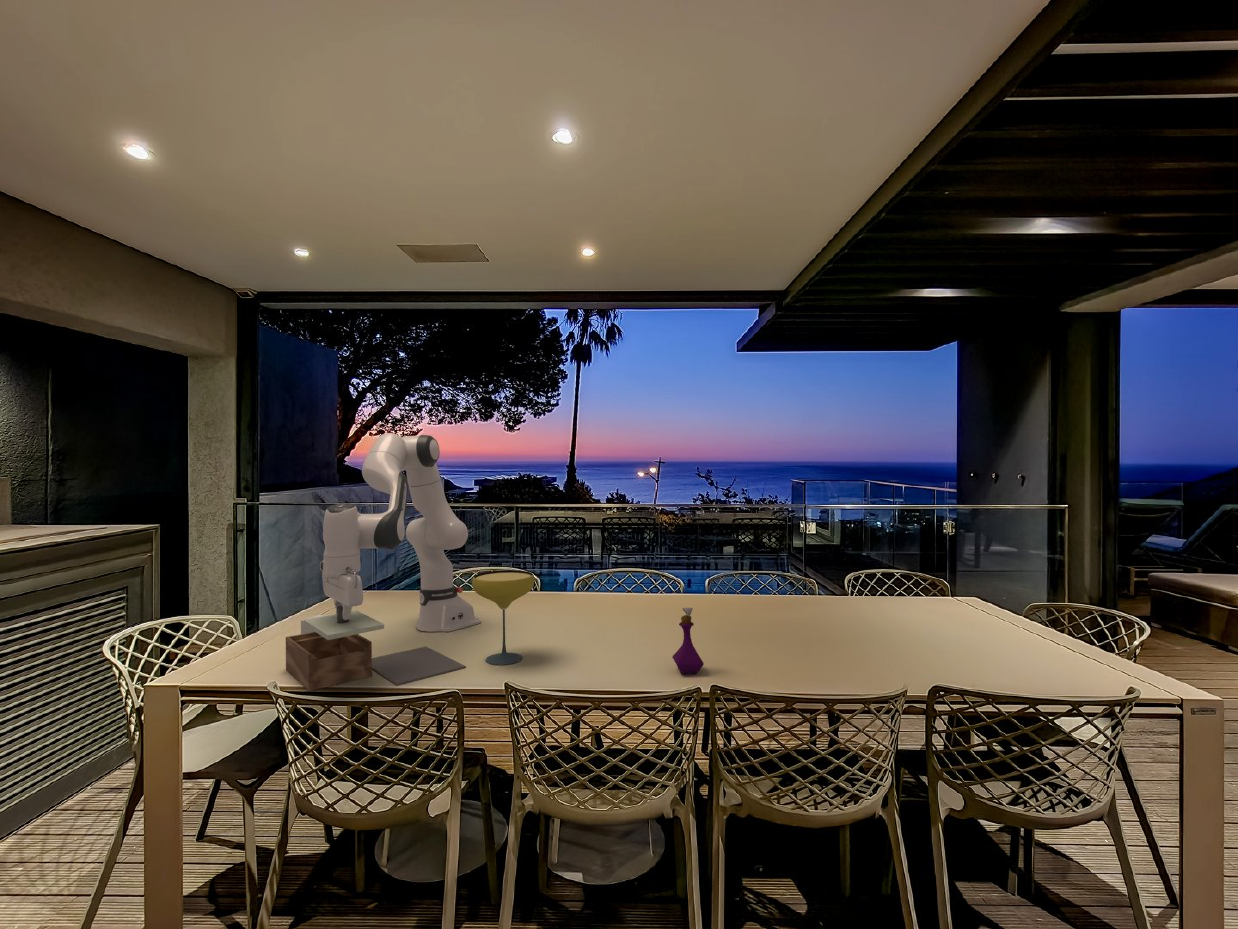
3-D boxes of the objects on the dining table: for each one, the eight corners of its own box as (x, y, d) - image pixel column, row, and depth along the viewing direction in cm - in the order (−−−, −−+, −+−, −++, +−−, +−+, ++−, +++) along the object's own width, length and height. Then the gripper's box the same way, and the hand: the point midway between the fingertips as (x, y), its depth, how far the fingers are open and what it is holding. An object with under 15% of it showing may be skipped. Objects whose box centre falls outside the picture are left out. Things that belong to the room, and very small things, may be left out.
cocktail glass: (485, 674, 166) (484, 583, 166) (464, 656, 181) (464, 573, 181) (544, 662, 176) (544, 576, 176) (520, 646, 191) (520, 568, 191)
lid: (356, 614, 171) (356, 596, 171) (384, 628, 157) (383, 608, 157) (303, 624, 162) (303, 605, 162) (327, 640, 147) (327, 619, 147)
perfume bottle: (672, 668, 170) (671, 604, 170) (698, 667, 170) (697, 603, 170) (676, 677, 162) (676, 610, 162) (704, 676, 163) (703, 609, 163)
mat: (425, 647, 190) (425, 646, 190) (465, 667, 171) (465, 666, 171) (361, 662, 177) (361, 660, 177) (396, 685, 158) (396, 683, 158)
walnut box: (344, 657, 181) (344, 626, 181) (371, 676, 165) (371, 641, 165) (285, 670, 171) (285, 637, 171) (308, 691, 154) (308, 654, 154)
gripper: (369, 568, 154) (370, 622, 154) (341, 559, 169) (342, 608, 169) (343, 572, 149) (344, 627, 149) (317, 562, 164) (318, 613, 164)
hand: (343, 617), depth 159 cm, fingers closed on lid, 3 cm apart
